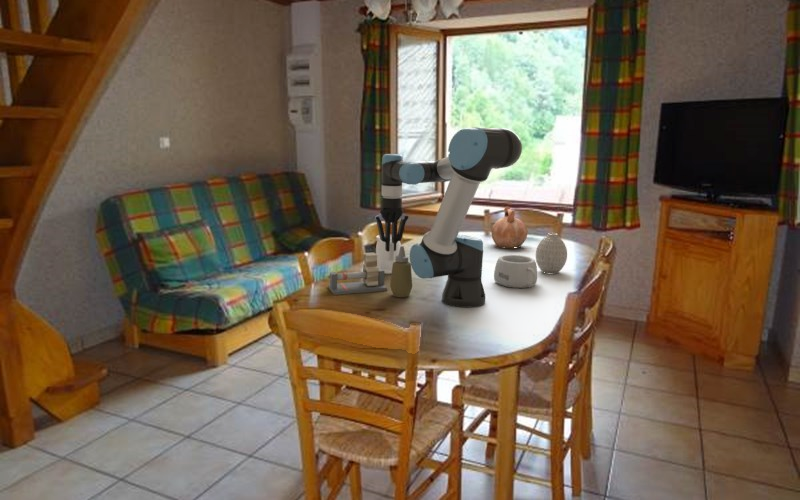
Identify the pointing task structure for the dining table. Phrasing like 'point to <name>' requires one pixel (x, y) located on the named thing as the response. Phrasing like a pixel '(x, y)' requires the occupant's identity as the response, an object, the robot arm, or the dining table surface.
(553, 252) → the vase
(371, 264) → the cream wooden block stack
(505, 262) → the mug
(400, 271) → the squeeze bottle
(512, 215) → the jug
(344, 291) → the grey slider rail stand
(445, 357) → the dining table surface
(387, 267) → the jar
